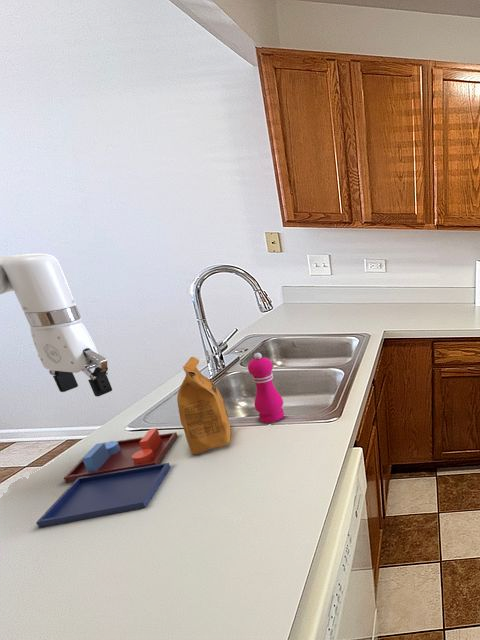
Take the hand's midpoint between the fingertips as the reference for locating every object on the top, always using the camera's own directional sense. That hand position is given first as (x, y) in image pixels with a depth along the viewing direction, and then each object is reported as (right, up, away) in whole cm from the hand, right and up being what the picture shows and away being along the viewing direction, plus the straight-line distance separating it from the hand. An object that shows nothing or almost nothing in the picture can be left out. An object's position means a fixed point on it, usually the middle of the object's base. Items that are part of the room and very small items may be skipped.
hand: (86, 391), depth 87 cm
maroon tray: (0, -17, +9) cm, 19 cm away
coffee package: (+17, -14, +16) cm, 27 cm away
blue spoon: (-4, -17, +8) cm, 19 cm away
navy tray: (+8, -22, -3) cm, 23 cm away
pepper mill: (+27, -10, +27) cm, 39 cm away
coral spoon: (+5, -16, +11) cm, 20 cm away
